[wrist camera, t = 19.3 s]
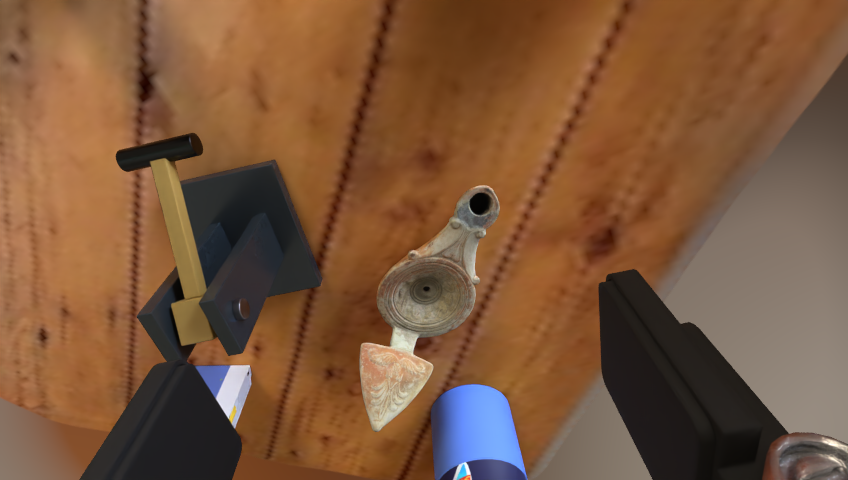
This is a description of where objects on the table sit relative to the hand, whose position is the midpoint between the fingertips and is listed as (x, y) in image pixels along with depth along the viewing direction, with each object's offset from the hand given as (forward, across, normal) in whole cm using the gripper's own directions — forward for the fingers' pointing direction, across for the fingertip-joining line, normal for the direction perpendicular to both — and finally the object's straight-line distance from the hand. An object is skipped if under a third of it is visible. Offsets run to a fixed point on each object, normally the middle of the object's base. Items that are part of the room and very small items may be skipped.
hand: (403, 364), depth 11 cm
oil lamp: (+28, +2, +16) cm, 33 cm away
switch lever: (+20, +16, +4) cm, 26 cm away
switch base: (+28, +16, +8) cm, 33 cm away
